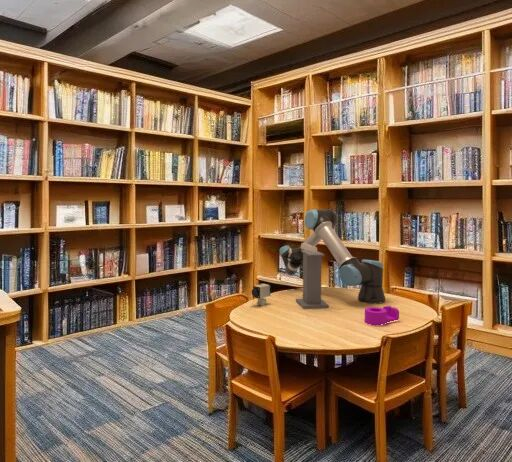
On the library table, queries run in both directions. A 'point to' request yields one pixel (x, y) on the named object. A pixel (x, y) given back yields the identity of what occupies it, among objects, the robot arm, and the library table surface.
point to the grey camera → (261, 293)
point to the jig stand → (312, 281)
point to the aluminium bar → (309, 248)
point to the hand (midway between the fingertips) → (302, 250)
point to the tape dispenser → (381, 315)
